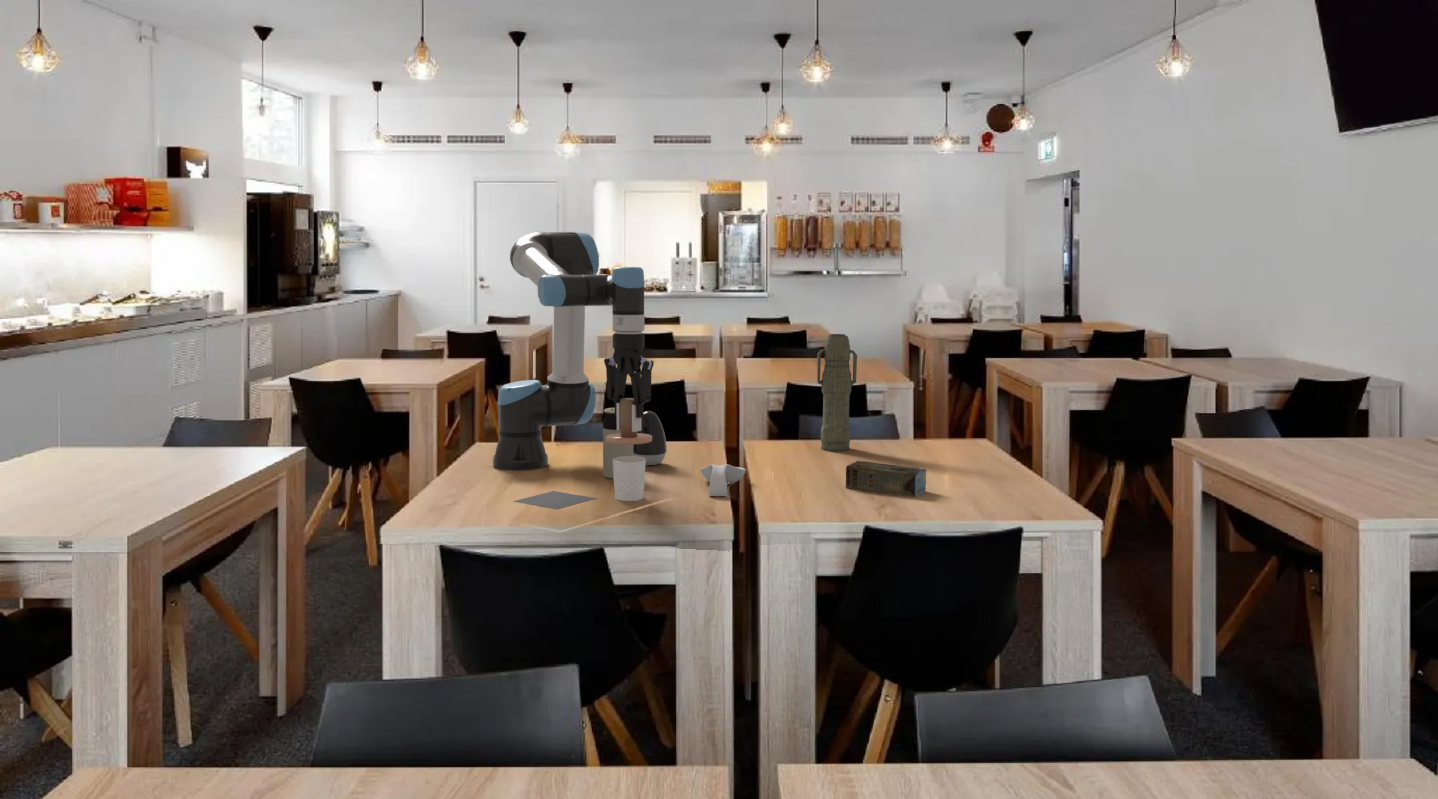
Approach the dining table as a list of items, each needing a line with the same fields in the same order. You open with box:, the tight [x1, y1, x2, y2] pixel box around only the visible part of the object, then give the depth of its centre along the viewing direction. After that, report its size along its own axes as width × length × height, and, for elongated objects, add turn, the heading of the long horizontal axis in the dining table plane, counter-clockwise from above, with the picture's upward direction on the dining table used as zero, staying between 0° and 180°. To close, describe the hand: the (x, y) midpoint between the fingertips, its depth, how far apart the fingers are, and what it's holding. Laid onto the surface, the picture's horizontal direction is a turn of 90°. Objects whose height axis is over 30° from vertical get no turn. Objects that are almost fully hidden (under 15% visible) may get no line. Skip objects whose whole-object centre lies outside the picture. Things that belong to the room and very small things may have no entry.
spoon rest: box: [699, 463, 747, 498], centre depth 279 cm, size 24×12×7 cm, turn 177°
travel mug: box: [602, 407, 633, 480], centre depth 291 cm, size 8×8×18 cm
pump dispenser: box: [633, 410, 668, 467], centre depth 308 cm, size 10×10×15 cm
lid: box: [606, 397, 652, 445], centre depth 262 cm, size 11×11×10 cm
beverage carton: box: [845, 460, 927, 498], centre depth 277 cm, size 8×19×7 cm, turn 60°
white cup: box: [613, 456, 646, 502], centre depth 264 cm, size 8×8×10 cm
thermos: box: [816, 333, 858, 453], centre depth 333 cm, size 9×12×35 cm
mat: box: [512, 490, 597, 510], centre depth 262 cm, size 14×14×1 cm
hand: (629, 430), depth 262 cm, fingers closed on lid, 4 cm apart
